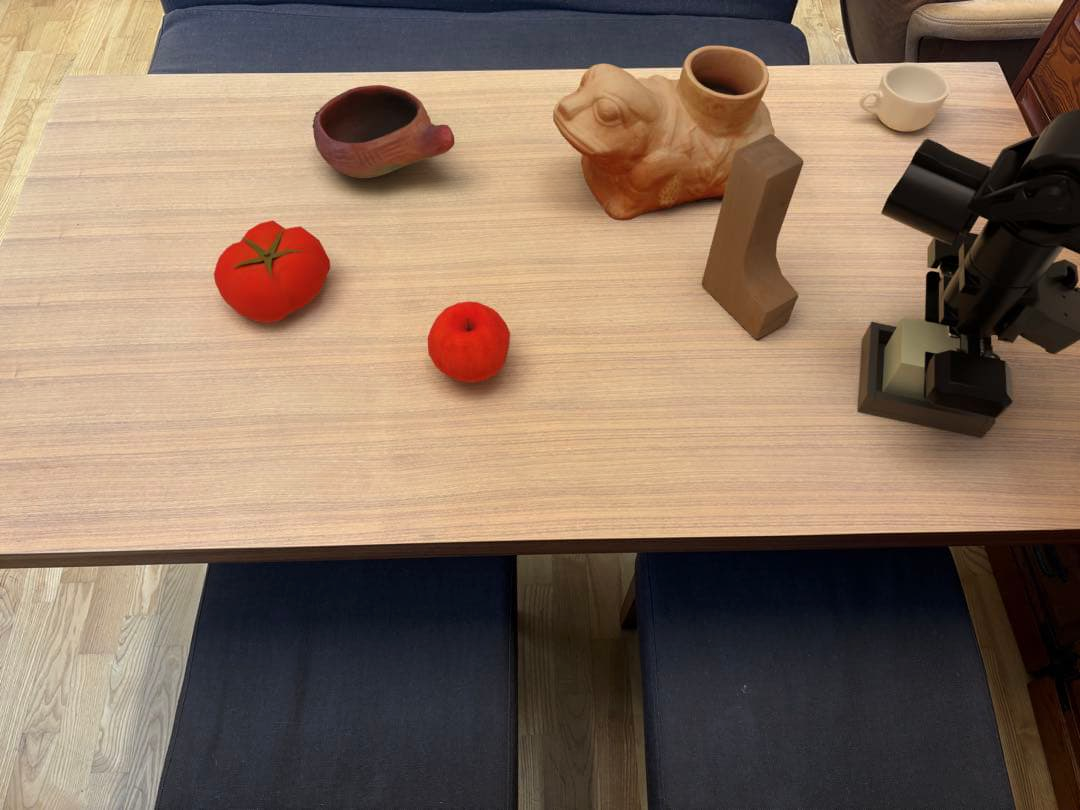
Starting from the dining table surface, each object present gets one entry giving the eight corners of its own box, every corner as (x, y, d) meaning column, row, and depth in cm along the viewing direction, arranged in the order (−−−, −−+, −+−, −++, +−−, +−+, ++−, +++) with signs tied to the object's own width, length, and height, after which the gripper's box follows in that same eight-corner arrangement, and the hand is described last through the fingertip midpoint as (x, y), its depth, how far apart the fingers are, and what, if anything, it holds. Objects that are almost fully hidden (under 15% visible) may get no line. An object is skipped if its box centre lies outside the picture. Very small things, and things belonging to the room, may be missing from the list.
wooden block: (789, 322, 87) (843, 190, 72) (756, 341, 86) (804, 210, 71) (731, 267, 91) (771, 131, 76) (699, 285, 90) (733, 149, 75)
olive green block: (967, 365, 83) (991, 334, 79) (968, 411, 80) (992, 381, 76) (884, 348, 84) (902, 316, 80) (882, 393, 81) (901, 362, 77)
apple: (519, 392, 82) (518, 346, 76) (437, 406, 81) (430, 361, 75) (503, 328, 86) (501, 280, 80) (426, 341, 85) (418, 293, 79)
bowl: (316, 201, 96) (300, 144, 89) (325, 126, 103) (311, 68, 96) (458, 197, 97) (453, 140, 90) (458, 122, 104) (453, 65, 97)
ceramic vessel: (533, 158, 100) (534, 44, 88) (735, 115, 105) (763, 0, 92) (572, 240, 93) (579, 128, 80) (787, 190, 98) (825, 77, 85)
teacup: (919, 97, 107) (936, 60, 102) (941, 138, 103) (960, 100, 98) (842, 103, 106) (856, 65, 102) (862, 143, 102) (877, 106, 98)
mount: (980, 362, 85) (993, 345, 82) (982, 438, 80) (996, 422, 77) (861, 338, 86) (871, 321, 84) (857, 411, 81) (866, 395, 79)
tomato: (209, 304, 88) (188, 261, 82) (283, 240, 93) (268, 195, 87) (279, 348, 85) (261, 306, 79) (351, 279, 90) (340, 235, 84)
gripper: (1126, 374, 62) (1022, 475, 75) (1100, 200, 72) (1013, 316, 85) (968, 343, 63) (893, 448, 76) (965, 176, 73) (899, 294, 86)
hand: (929, 373), depth 81 cm, fingers closed on olive green block, 5 cm apart
